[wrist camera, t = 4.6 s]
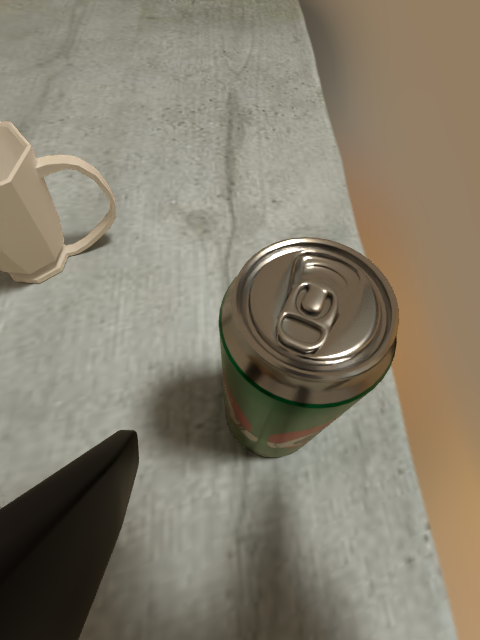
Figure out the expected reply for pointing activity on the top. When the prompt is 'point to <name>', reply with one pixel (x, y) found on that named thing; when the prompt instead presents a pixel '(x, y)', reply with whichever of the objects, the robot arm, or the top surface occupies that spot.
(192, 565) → the top surface
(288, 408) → the soda can
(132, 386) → the top surface
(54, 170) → the cup
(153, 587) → the top surface
